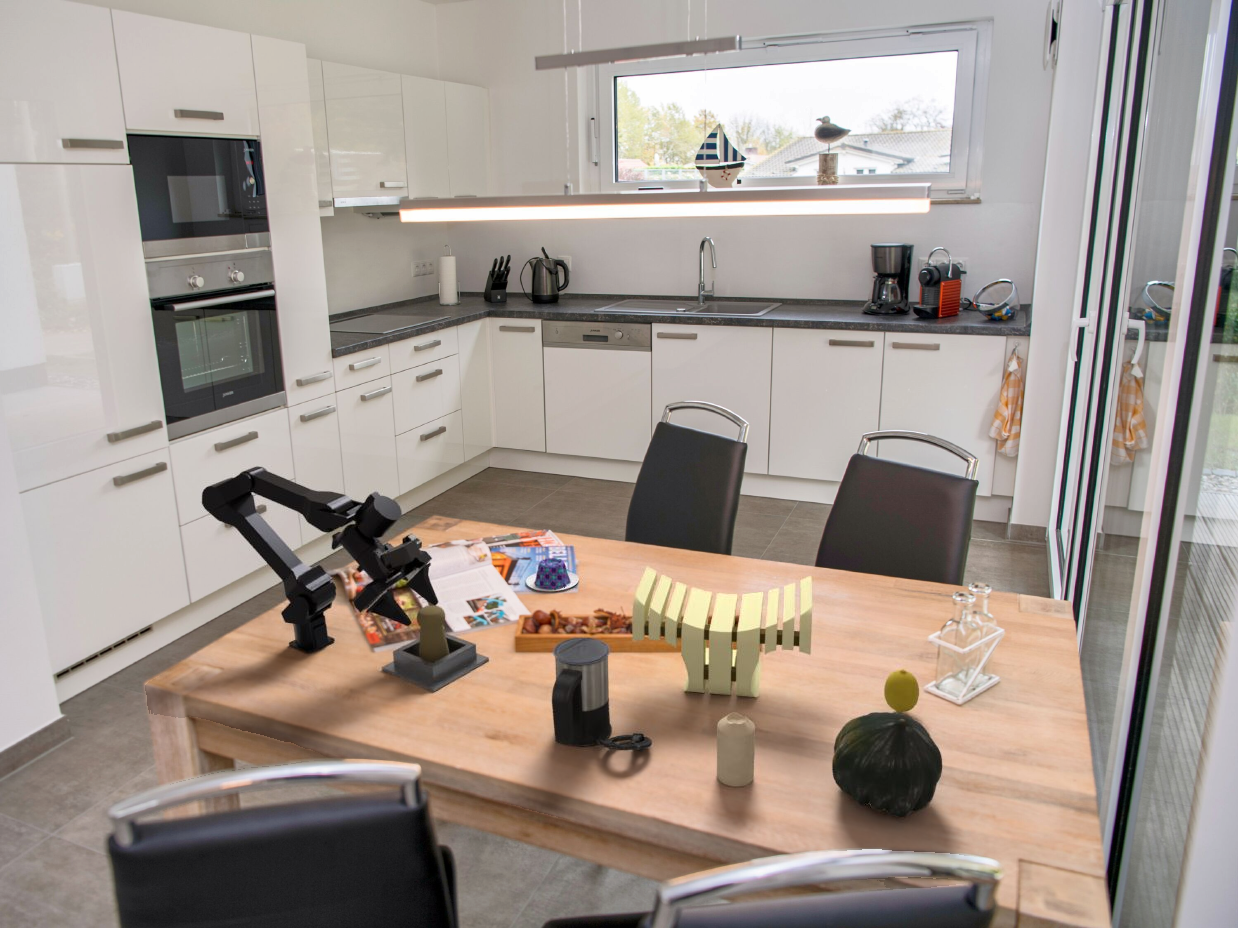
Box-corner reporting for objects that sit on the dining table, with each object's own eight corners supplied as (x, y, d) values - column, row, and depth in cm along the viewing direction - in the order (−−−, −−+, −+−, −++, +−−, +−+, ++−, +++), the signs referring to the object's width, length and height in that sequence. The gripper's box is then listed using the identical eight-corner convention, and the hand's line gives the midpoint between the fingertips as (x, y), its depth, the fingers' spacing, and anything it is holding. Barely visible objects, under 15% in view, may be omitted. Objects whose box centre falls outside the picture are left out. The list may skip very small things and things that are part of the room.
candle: (713, 766, 139) (714, 708, 136) (749, 763, 139) (750, 706, 136) (720, 788, 134) (721, 728, 131) (757, 785, 134) (759, 726, 131)
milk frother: (558, 715, 154) (555, 636, 149) (652, 716, 153) (651, 636, 149) (549, 765, 140) (545, 679, 136) (651, 766, 139) (651, 680, 135)
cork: (452, 667, 169) (448, 613, 166) (419, 672, 167) (414, 617, 164) (449, 652, 174) (445, 599, 171) (417, 657, 173) (412, 603, 170)
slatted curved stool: (633, 694, 159) (632, 601, 154) (648, 652, 174) (647, 565, 169) (808, 709, 154) (812, 613, 149) (807, 664, 169) (811, 575, 164)
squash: (837, 719, 141) (839, 687, 128) (939, 737, 137) (951, 705, 124) (827, 813, 134) (828, 789, 121) (933, 835, 130) (946, 812, 117)
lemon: (899, 725, 149) (902, 681, 146) (875, 709, 153) (878, 666, 151) (924, 716, 151) (928, 673, 149) (900, 700, 156) (903, 658, 154)
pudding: (550, 598, 199) (549, 576, 198) (515, 584, 207) (514, 562, 206) (589, 582, 208) (589, 560, 206) (554, 568, 216) (553, 548, 214)
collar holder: (382, 669, 170) (380, 652, 169) (438, 640, 180) (436, 624, 179) (433, 691, 162) (432, 673, 161) (488, 660, 172) (487, 643, 171)
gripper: (361, 543, 157) (420, 611, 157) (419, 510, 174) (473, 570, 174) (328, 579, 162) (385, 645, 162) (388, 543, 179) (440, 602, 178)
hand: (423, 614), depth 169 cm, fingers open, 9 cm apart
